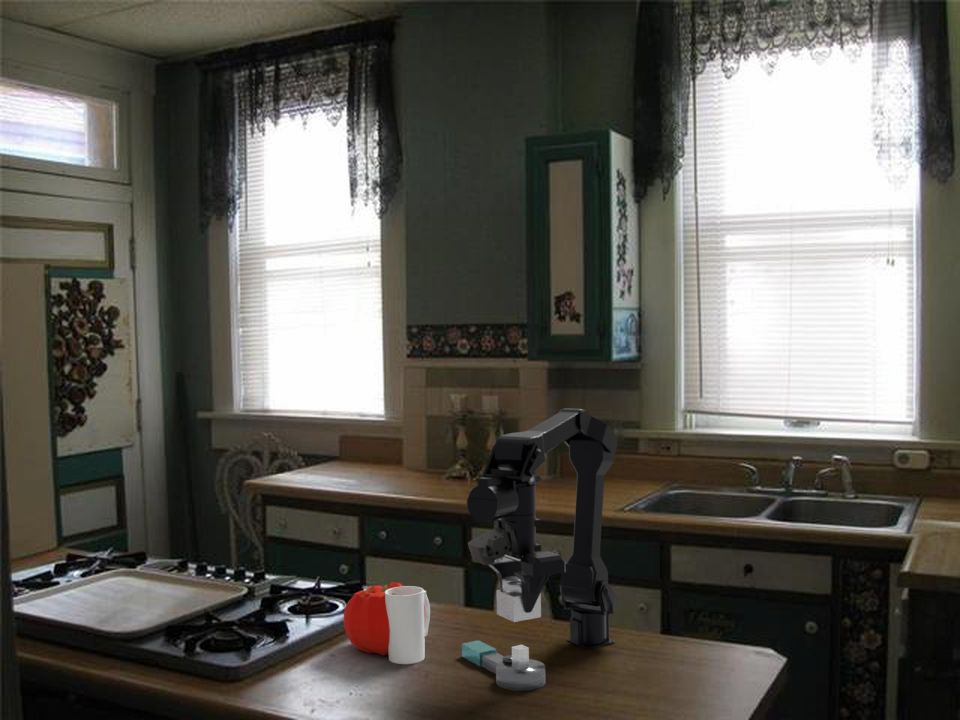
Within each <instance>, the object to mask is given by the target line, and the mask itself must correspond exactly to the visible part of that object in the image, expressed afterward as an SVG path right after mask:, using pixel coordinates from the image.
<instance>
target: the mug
mask: <svg viewBox="0 0 960 720" xmlns="http://www.w3.org/2000/svg"><path fill="white" fill-rule="evenodd" d="M402 586H403V587H395V588H391V589H388V590H386V591H385V604H386V609H387V615H388V619H389V628H390V638H389V648H388V653H389V654H388V660H389V662H391V663H393V664H399V665H412V664H417V663H421V662H422V661H424V659H425V657H426V656H425V653H426V652H425V651H426V650H425V648H426V647H425V644H426V643H425V639H426V638H425V637H426V636H428V632H429V627H430V618H431V605H430V601H429V599H428V596H427V590H424V588H423V587H420V586H414V585H413V586H412V585H411V586H410V585H406V586H405V585H402ZM392 594H395V595H392ZM400 595H403V596H400Z"/></svg>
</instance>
